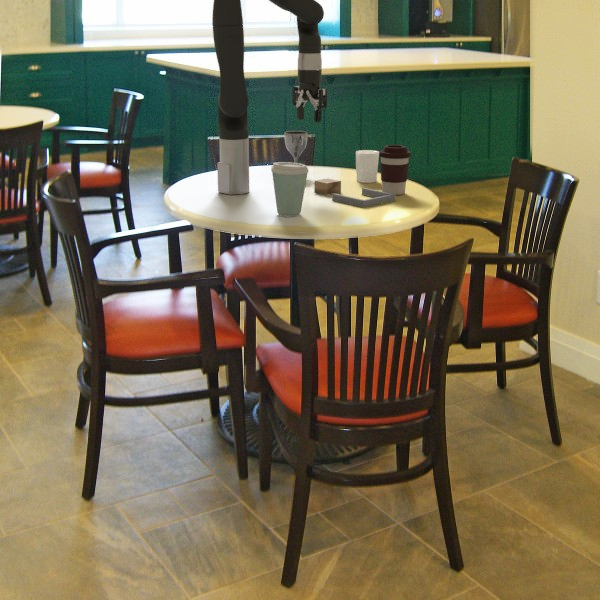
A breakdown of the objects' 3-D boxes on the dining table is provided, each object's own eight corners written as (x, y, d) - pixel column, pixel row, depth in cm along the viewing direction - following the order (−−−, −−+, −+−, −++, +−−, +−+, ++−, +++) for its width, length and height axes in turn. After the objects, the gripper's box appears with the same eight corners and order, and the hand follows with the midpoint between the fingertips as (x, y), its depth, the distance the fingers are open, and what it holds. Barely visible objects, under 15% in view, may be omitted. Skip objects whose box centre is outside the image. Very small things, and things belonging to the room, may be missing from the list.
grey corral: (363, 207, 264) (363, 200, 263) (332, 200, 273) (332, 193, 273) (395, 200, 273) (395, 194, 272) (364, 194, 282) (364, 187, 282)
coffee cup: (413, 191, 286) (415, 145, 281) (403, 197, 277) (405, 149, 272) (384, 189, 290) (385, 143, 285) (373, 194, 281) (374, 147, 276)
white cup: (376, 183, 298) (377, 154, 295) (353, 182, 300) (354, 153, 296) (379, 179, 306) (380, 150, 302) (356, 178, 307) (357, 149, 304)
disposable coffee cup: (287, 209, 261) (287, 158, 257) (316, 214, 255) (316, 162, 250) (263, 215, 254) (263, 163, 249) (292, 221, 247) (292, 167, 242)
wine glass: (307, 177, 309) (307, 133, 304) (284, 177, 309) (284, 133, 304) (307, 173, 316) (307, 130, 312) (284, 173, 316) (284, 130, 312)
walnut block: (326, 195, 281) (327, 183, 279) (314, 192, 285) (314, 180, 284) (340, 193, 284) (341, 181, 283) (328, 190, 289) (328, 178, 287)
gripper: (285, 67, 281) (285, 119, 287) (316, 69, 271) (315, 124, 276) (303, 66, 286) (303, 117, 291) (334, 68, 276) (333, 122, 281)
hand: (309, 120), depth 284 cm, fingers open, 7 cm apart
